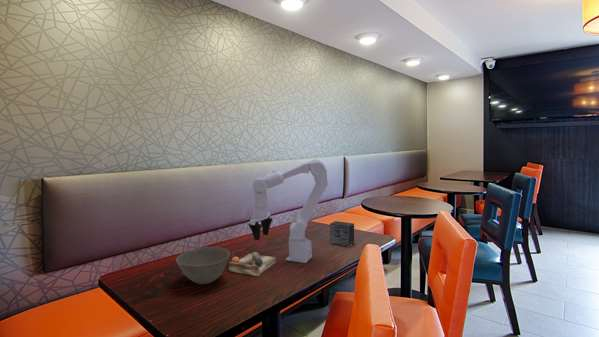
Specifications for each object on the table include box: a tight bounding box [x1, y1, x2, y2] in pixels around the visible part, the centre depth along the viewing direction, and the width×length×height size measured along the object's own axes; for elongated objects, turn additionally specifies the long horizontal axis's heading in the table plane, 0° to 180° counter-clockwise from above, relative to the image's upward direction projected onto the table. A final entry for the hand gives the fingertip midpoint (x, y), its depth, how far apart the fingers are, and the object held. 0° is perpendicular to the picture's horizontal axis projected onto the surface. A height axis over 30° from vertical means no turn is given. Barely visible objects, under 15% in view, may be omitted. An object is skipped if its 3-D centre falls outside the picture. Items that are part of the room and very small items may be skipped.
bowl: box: [175, 246, 231, 285], centre depth 116 cm, size 19×19×10 cm
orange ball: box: [231, 256, 240, 263], centre depth 127 cm, size 3×3×3 cm
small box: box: [329, 220, 355, 247], centre depth 156 cm, size 11×6×10 cm, turn 58°
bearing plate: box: [228, 253, 277, 277], centre depth 129 cm, size 13×15×4 cm
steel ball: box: [251, 251, 260, 260], centre depth 132 cm, size 3×3×3 cm
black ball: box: [255, 258, 263, 266], centre depth 125 cm, size 3×3×3 cm
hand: (261, 237), depth 136 cm, fingers open, 7 cm apart
